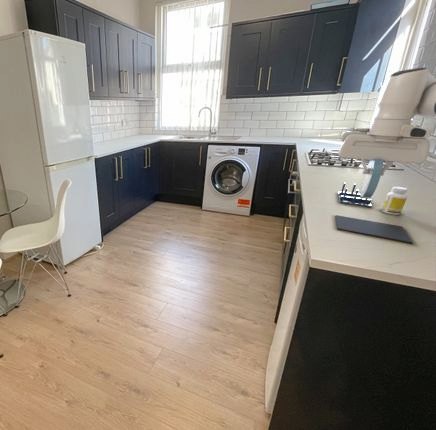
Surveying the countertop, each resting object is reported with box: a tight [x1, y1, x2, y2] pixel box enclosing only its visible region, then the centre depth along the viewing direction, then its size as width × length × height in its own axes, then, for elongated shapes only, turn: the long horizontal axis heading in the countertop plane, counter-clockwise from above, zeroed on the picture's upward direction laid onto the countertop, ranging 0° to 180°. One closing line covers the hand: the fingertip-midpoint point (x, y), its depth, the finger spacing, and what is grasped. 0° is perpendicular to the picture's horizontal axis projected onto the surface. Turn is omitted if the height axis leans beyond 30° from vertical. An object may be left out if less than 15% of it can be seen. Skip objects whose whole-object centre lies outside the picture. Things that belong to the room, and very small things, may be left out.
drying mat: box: [335, 214, 413, 245], centre depth 93 cm, size 18×14×1 cm
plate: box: [359, 159, 384, 199], centre depth 89 cm, size 2×13×13 cm, turn 146°
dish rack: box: [337, 182, 372, 209], centre depth 119 cm, size 10×16×6 cm, turn 145°
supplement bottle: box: [381, 186, 409, 216], centre depth 105 cm, size 5×5×10 cm
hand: (372, 174), depth 89 cm, fingers closed on plate, 2 cm apart
